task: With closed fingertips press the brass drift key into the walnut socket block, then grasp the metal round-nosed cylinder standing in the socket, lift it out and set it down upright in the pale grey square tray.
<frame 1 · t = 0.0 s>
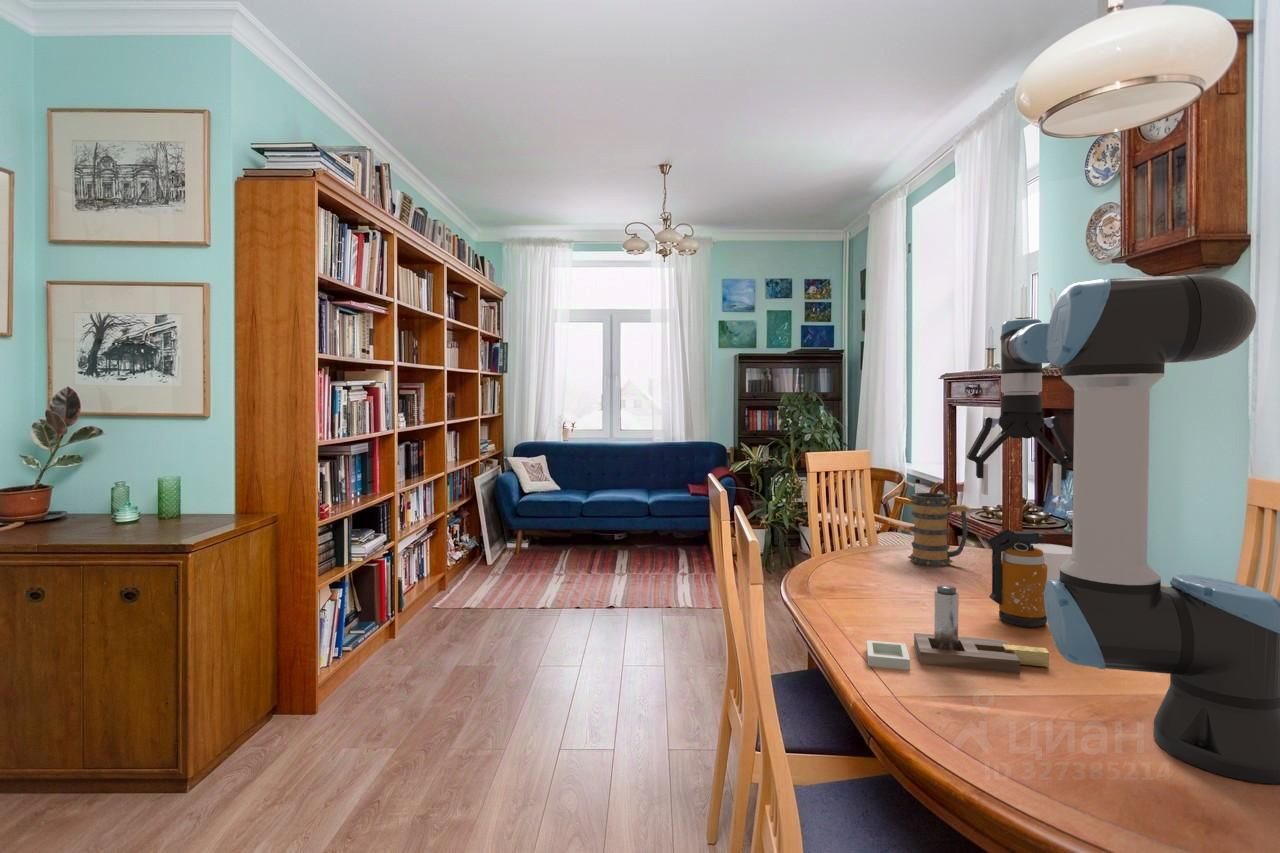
hand: (1020, 494, 140), 28 cm above the table, fingers open, 13 cm apart
mug: (938, 563, 195), on the table
metal round-nosed cylinder: (946, 656, 123), point 1 cm above the table, touching socket block
pale grey square tray: (887, 662, 122), on the table
drift key: (1025, 655, 119), point 2 cm above the table, slide at 0.0 cm
canister: (1017, 622, 143), on the table
socket block: (963, 662, 122), on the table
cup: (1050, 598, 160), on the table
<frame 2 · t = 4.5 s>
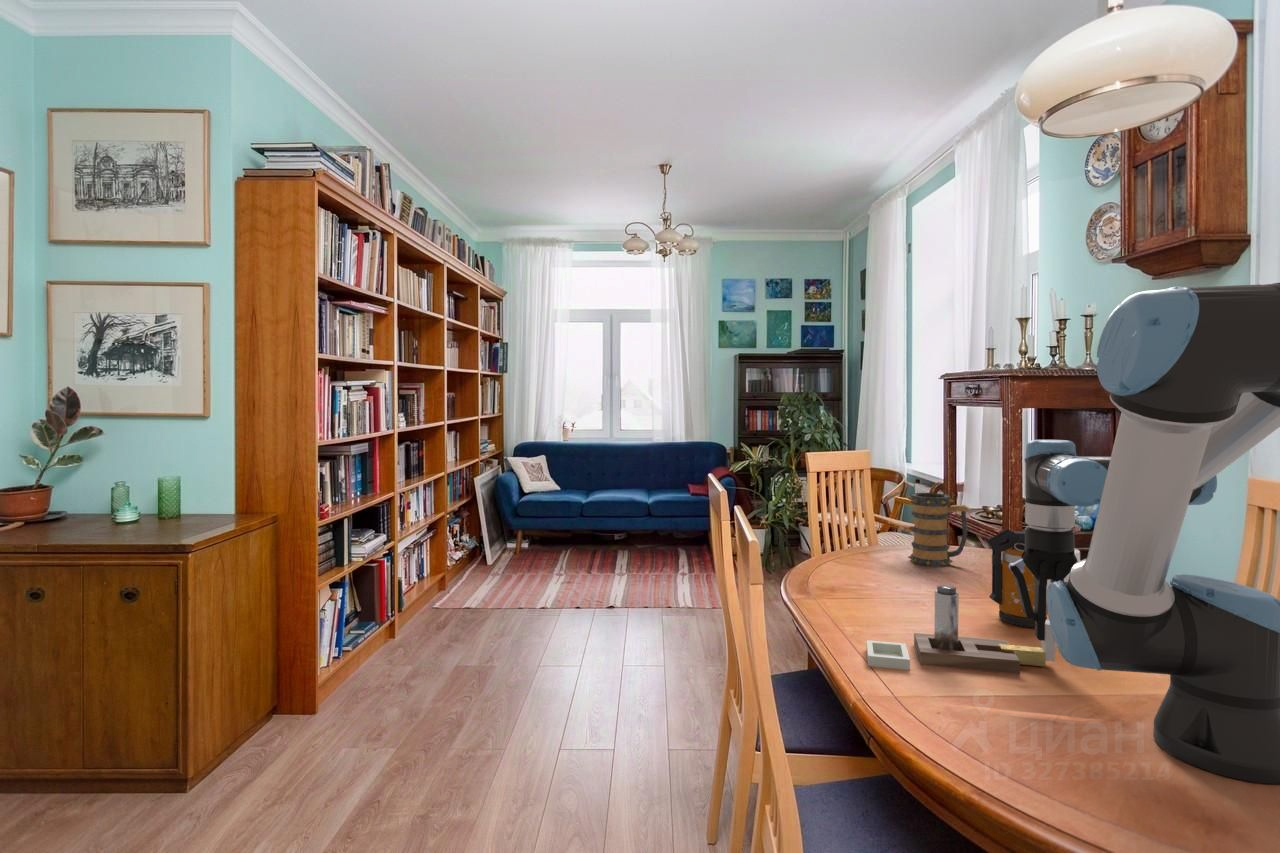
hand: (1047, 658, 118), 2 cm above the table, fingers closed
drift key: (1021, 655, 119), point 2 cm above the table, slide at 0.6 cm, touching gripper
everything else where it was.
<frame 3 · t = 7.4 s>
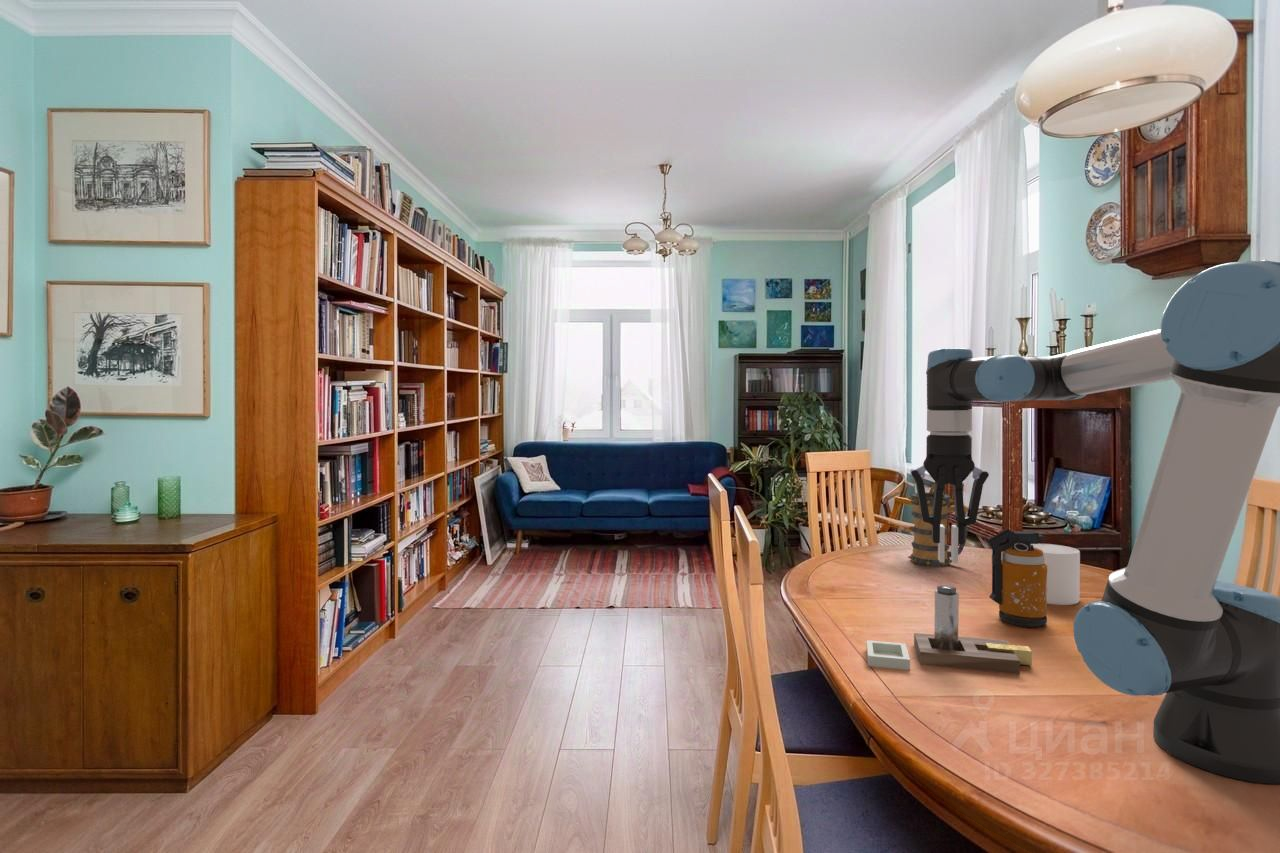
hand: (947, 560, 122), 19 cm above the table, fingers closed
drift key: (1008, 653, 120), point 2 cm above the table, slide at 2.7 cm
everything else where it was.
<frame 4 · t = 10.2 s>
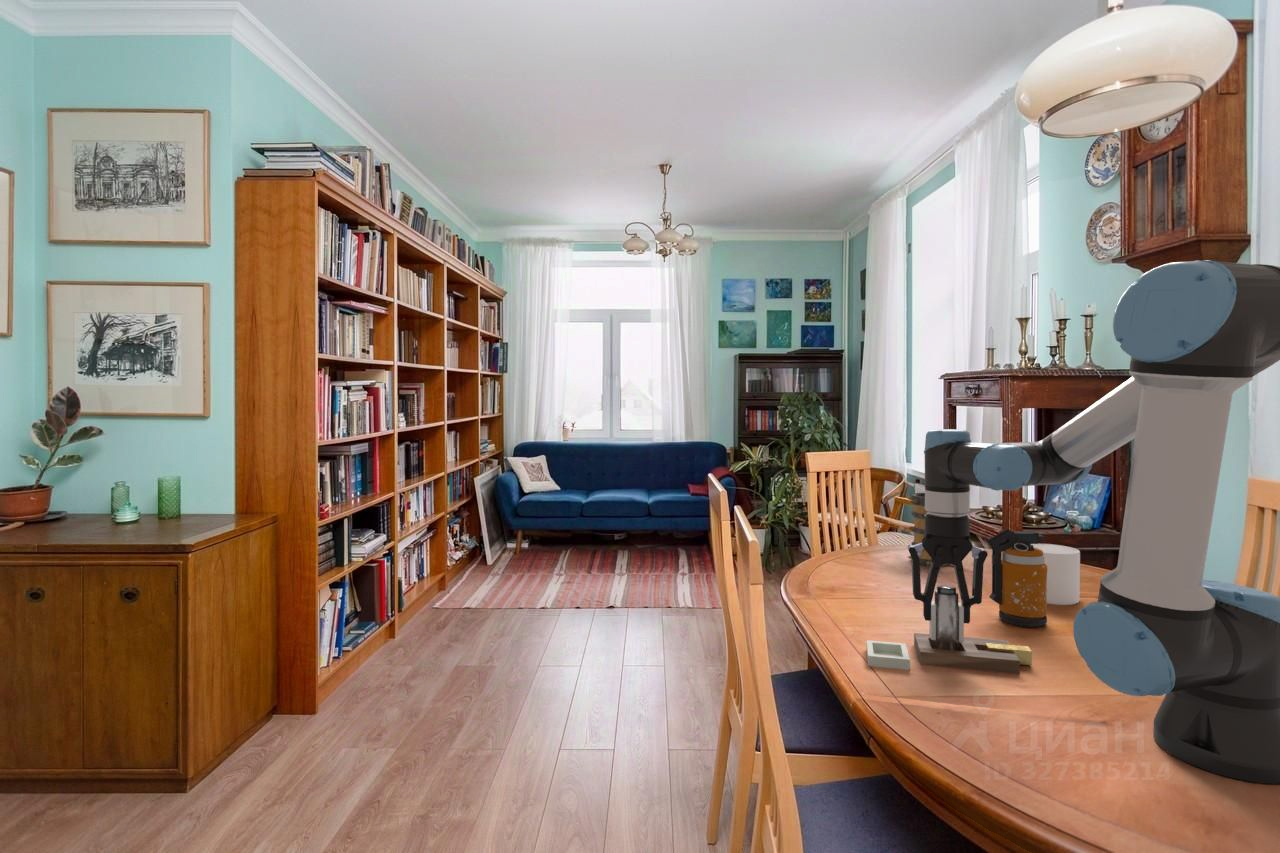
hand: (946, 638, 123), 4 cm above the table, fingers closed on metal round-nosed cylinder, 4 cm apart
metal round-nosed cylinder: (946, 656, 123), point 1 cm above the table, touching gripper, socket block
everything else where it was.
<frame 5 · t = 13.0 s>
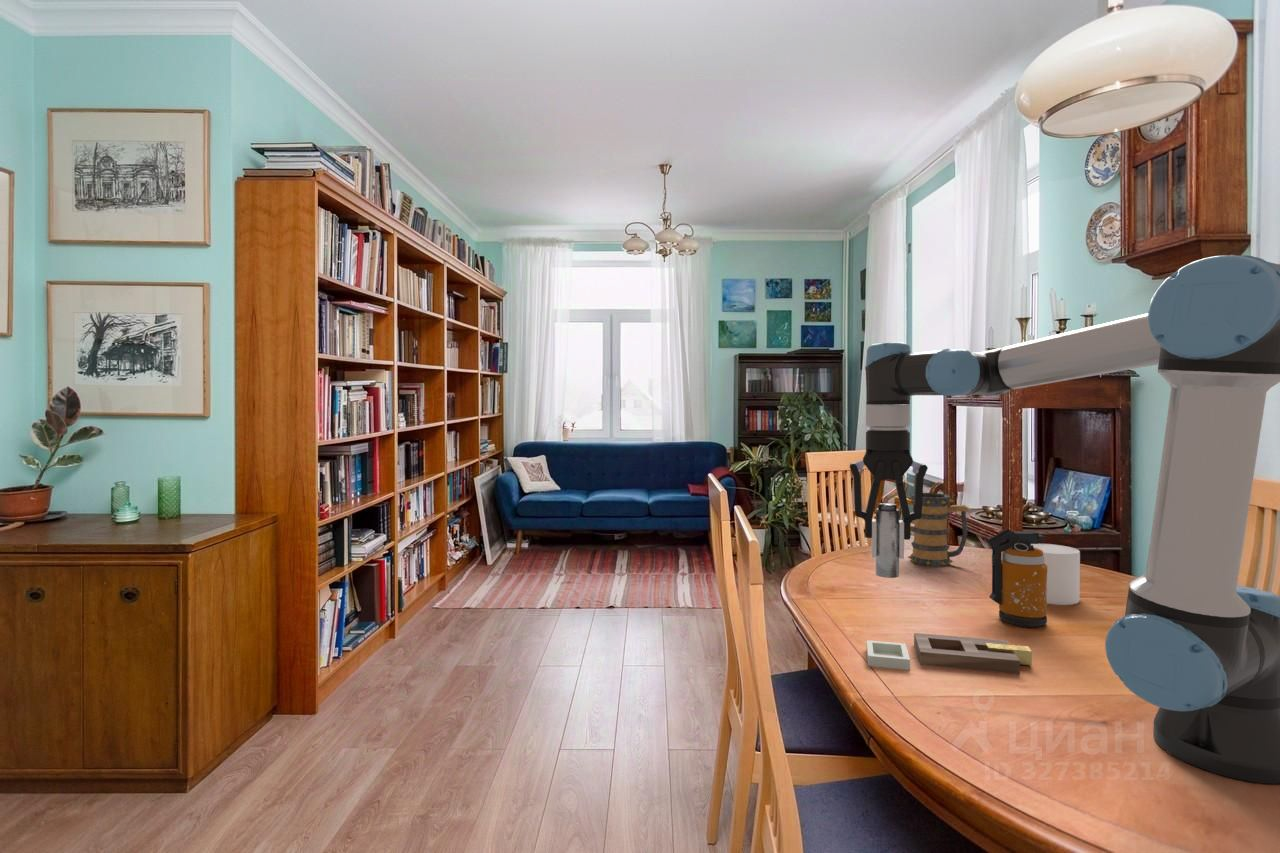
hand: (887, 555, 121), 20 cm above the table, fingers closed on metal round-nosed cylinder, 4 cm apart
metal round-nosed cylinder: (887, 574, 121), point 16 cm above the table, touching gripper
everything else where it was.
when the fingers open (6 cm above the table, at t = 15.6 s): metal round-nosed cylinder drops 1 cm, resting on pale grey square tray.
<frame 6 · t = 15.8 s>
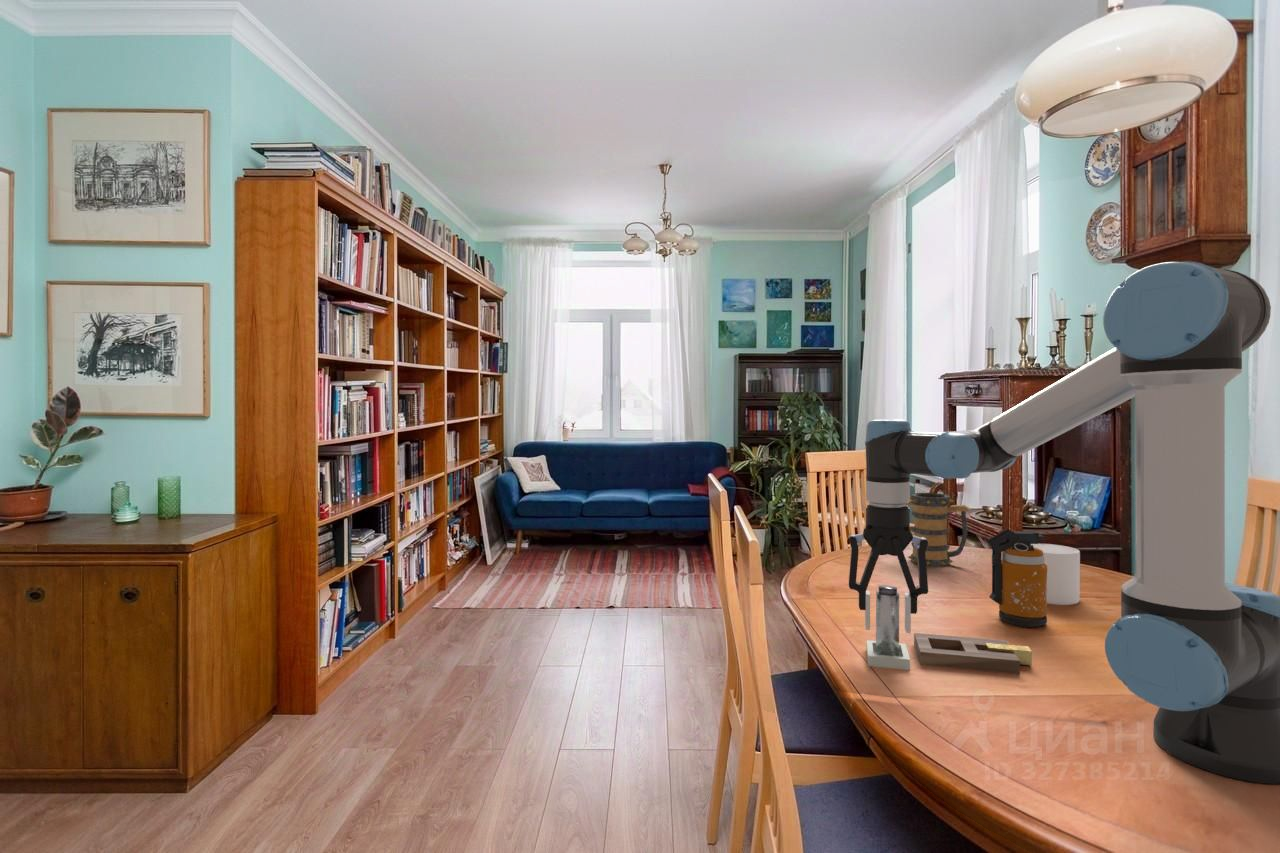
hand: (887, 628, 122), 6 cm above the table, fingers open, 6 cm apart
metal round-nosed cylinder: (887, 657, 122), point 1 cm above the table, touching pale grey square tray
everything else where it was.
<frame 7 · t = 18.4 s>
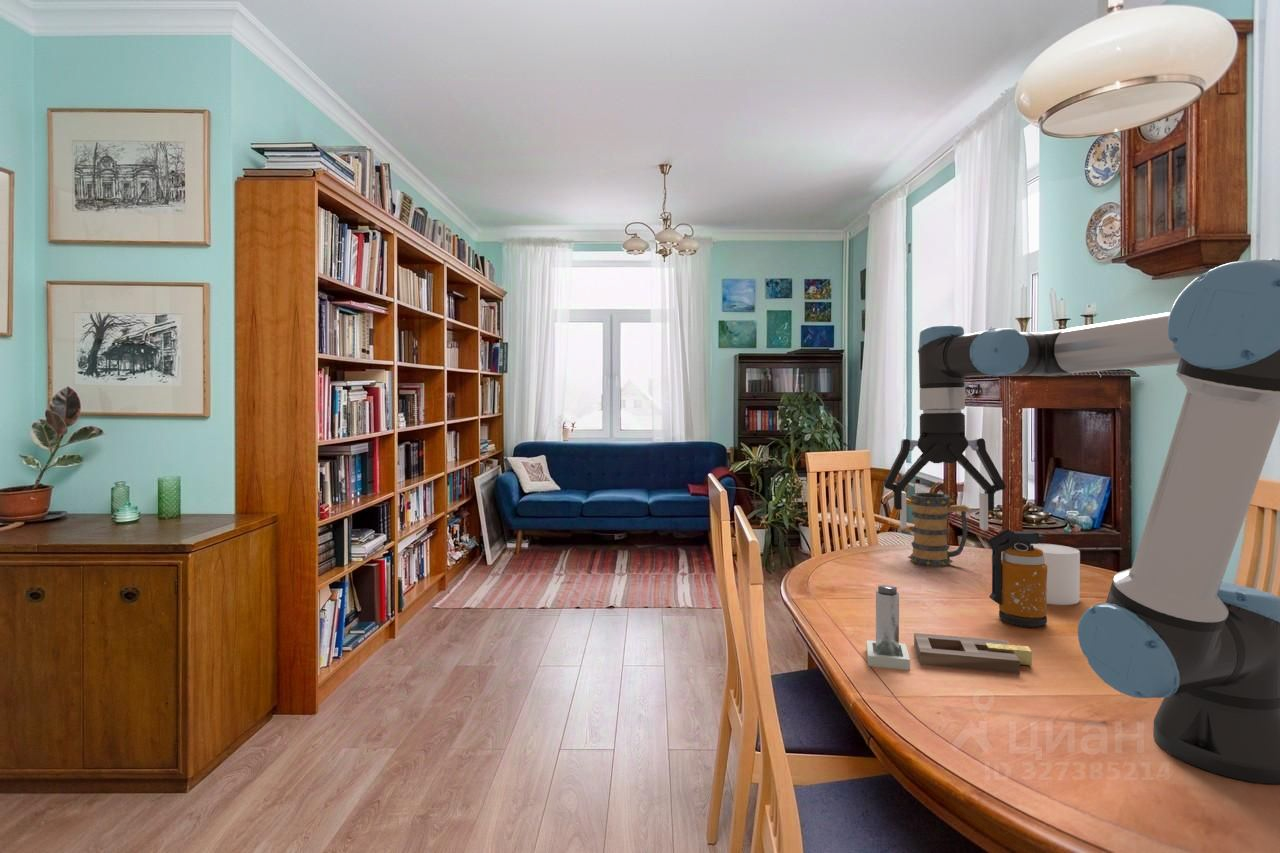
hand: (943, 528, 121), 25 cm above the table, fingers open, 13 cm apart
nothing on the table moved.
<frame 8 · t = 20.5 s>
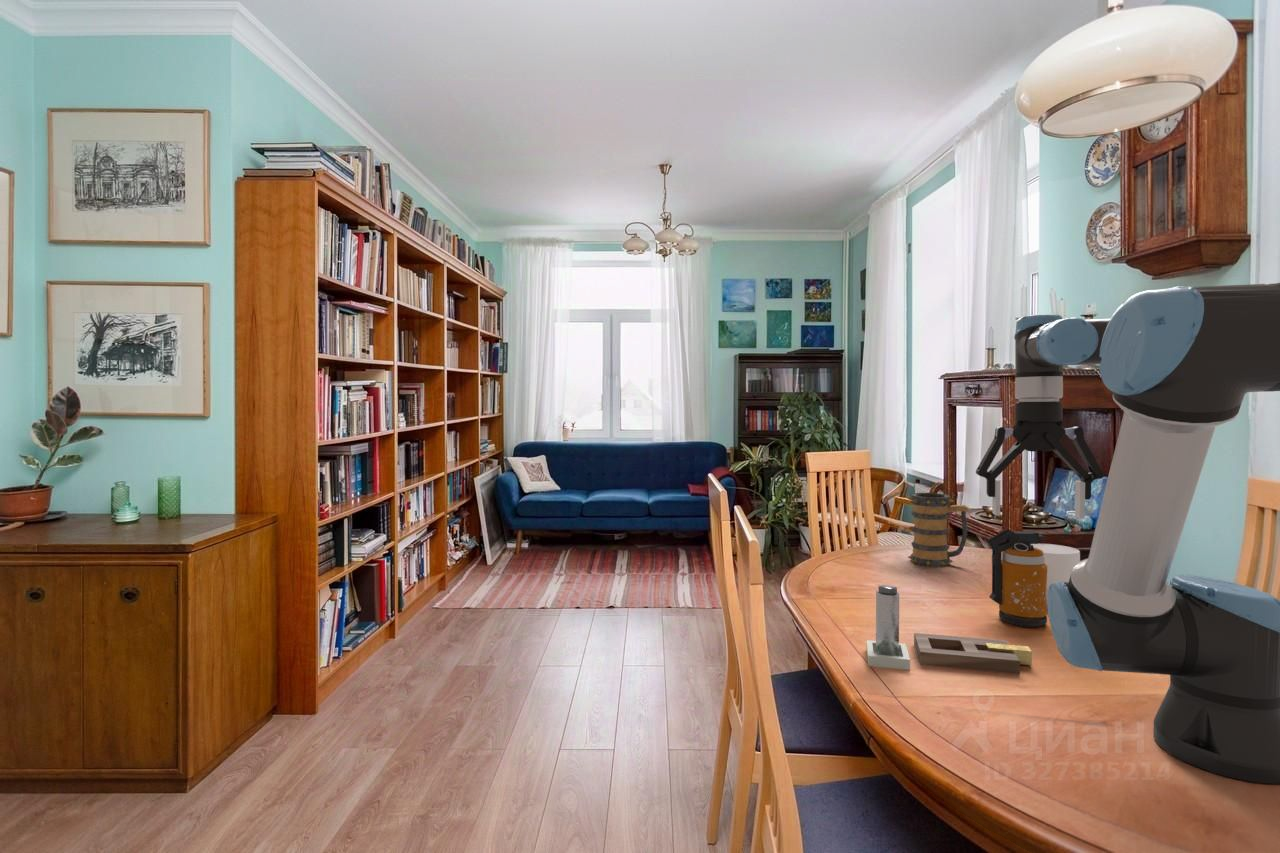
hand: (1037, 516, 122), 27 cm above the table, fingers open, 13 cm apart
nothing on the table moved.
at the end: drift key slide at 2.7 cm; metal round-nosed cylinder 0.0 cm off-centre on the pale grey square tray, point 1.0 cm above the pale grey square tray's base; metal round-nosed cylinder tilted 1° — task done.
